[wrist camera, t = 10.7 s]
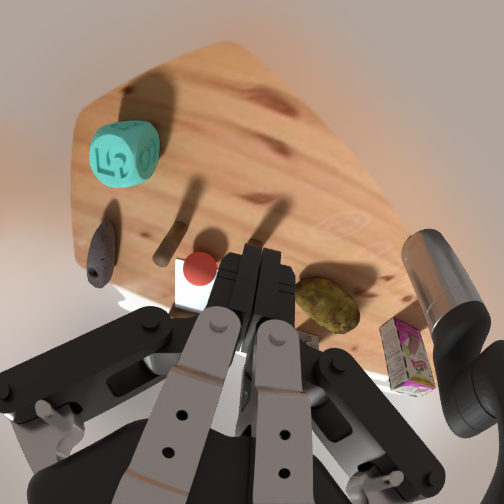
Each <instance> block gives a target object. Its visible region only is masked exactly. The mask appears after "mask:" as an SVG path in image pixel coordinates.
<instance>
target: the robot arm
mask: <svg viewBox="0 0 504 504" xmlns="http://www.w3.org/2000/svg"><path fill="white" fill-rule="evenodd" d="M261 253H262V254H261ZM401 258H402V262H403V264H404V266H405V269H406V271H407V273H408V276H409V278H410V281H411V283H412V285H413V288H414V290H415V293H416V295H417V298H418V300H419V303H420V306H421V308H422V311H423V314H424V317H425V319H426V322H427V325H428V328H429V331H430V334H431V337H432V340H433V343H434V348H433V362H434V367H435V371H436V376H437V382H438V388H439V394H440V400H441V405H442V410H443V413H444V416H445V419H446V422H447V424H448V426H449V427H450V429H451V430H452V432H453V433H454V434H455V435H457V436H459V437H461V438H470V437H473V436H476V435H478V434H480V433H481V432H483V431H485V430H486V429H488V428H490V427H491V426H493V425H494V424H496V423H498V431H499V456H498V462H497V467H496V470H495V473H494V476H493V478H492V481H491V484H490V486H489V488H488V490H487V492H486V494H485V496H484V498H483V500H482V501H481V504H504V340H498V341H495V342H494V343H492V344H491V345H490V346H489V347H487V348H486V349H485V350H484V351H483V352H482V353H481V354H480V352H481V349H482V346H483V344H484V342H485V340H486V338H487V335H488V333H489V330H490V327H491V318H490V315H489V313H488V311H487V309H486V307H485V305H484V303H483V301H482V300H481V297H480V295H479V293H478V292H477V290H476V288H475V286H474V285H473V283H472V281H471V279H470V278H469V275H468V274H467V272H466V270H465V269H464V267H463V265H462V264H461V262H460V261H459V259H458V257H457V256H456V254H455V253H454V251H453V250H452V249H451V247H450V245H449V244H448V243H447V241H446V240H445V239H444V237H443V236H442V234H441V233H440V232H438V231H437V230H434V229H424V230H421V231H419V232H417V233H415V234H414V235H412V236H411V237H410V238H409V239H408V240H407V242H406V243H405V244H404V247H403V249H402V253H401ZM280 262H281V252H280V251H276V250H272V249H268V248H263V251H262V247H259V246H255V245H251V244H247V243H245V246H244V250H243V254H242V255H240V254H235V253H231V252H229V253H228V254H227V255H226V256H225V257H223V258H222V260H221V263H220V266H219V269H218V272H217V275H216V278H215V281H214V284H213V287H212V290H211V293H210V296H209V299H208V302H207V305H206V307H205V308H204V310H203V311H202V312H201V313H199V314H198V315H196V316H193V317H189V318H171V317H170V316H169V314H168V313H167V312H166V311H165V310H163V309H161V308H159V307H155V306H146V307H142V308H139V309H137V310H135V311H133V312H131V313H129V314H127V315H124V316H122V317H120V318H118V319H116V320H114V321H112V322H109V323H107V324H105V325H103V326H101V327H99V328H96V329H94V330H92V331H90V332H88V333H86V334H84V335H81V336H79V337H77V338H75V339H73V340H71V341H69V342H66V343H64V344H62V345H60V346H58V347H55V348H53V349H51V350H49V351H47V352H45V353H43V354H40V355H38V356H36V357H34V358H32V359H29V360H28V361H25V362H23V363H21V364H18V365H16V366H14V367H12V368H10V369H8V370H5V371H3V372H1V373H0V413H1V414H2V415H4V416H5V417H7V418H8V419H9V420H10V422H11V424H12V426H13V429H14V432H15V434H16V436H17V439H18V441H19V444H20V446H21V448H22V451H23V453H24V455H25V457H26V459H27V461H28V463H29V465H30V467H31V469H32V471H33V473H34V476H33V477H32V478H31V480H30V482H29V485H28V489H27V500H28V504H412V503H413V502H414V501H418V500H422V499H426V498H430V497H433V496H435V495H437V494H438V493H439V492H440V491H441V489H442V488H443V486H444V483H445V470H444V468H443V466H442V465H441V463H440V462H439V461H438V460H437V459H436V457H435V456H434V455H433V453H432V452H431V451H430V450H429V449H428V448H427V446H426V445H425V444H424V442H423V441H422V440H421V439H420V438H419V436H418V435H417V434H416V433H415V431H414V430H413V429H412V428H411V427H410V425H409V424H408V423H407V422H406V421H405V419H404V418H403V417H402V416H401V414H400V413H399V412H398V411H397V410H396V408H395V407H394V406H393V405H392V404H391V403H390V401H389V400H388V399H387V398H386V396H385V395H384V394H383V393H382V392H381V390H380V389H379V388H378V387H377V386H376V384H375V383H374V382H373V381H372V380H371V378H370V377H369V376H368V375H367V374H366V372H365V371H364V370H363V369H362V368H361V366H360V365H359V364H358V363H357V362H356V361H355V359H354V358H353V357H352V356H351V355H350V354H349V353H348V352H346V351H345V350H342V349H339V348H330V349H327V350H325V351H324V352H321V351H319V350H317V349H315V348H313V347H311V346H309V345H307V344H306V343H304V342H303V341H302V340H301V339H300V338H299V336H298V333H297V331H296V330H295V274H294V272H293V270H292V268H291V267H290V266H286V265H282V264H280ZM242 341H243V343H242ZM241 344H242V348H241V352H244V353H247V356H246V362H245V365H244V367H243V371H242V381H241V394H240V405H239V415H238V420H237V424H236V430H235V437H229V436H226V435H224V434H221V433H219V432H217V431H215V430H213V429H211V428H210V427H211V423H212V420H213V417H214V414H215V410H216V407H217V404H218V400H219V397H220V394H221V391H222V387H223V384H224V381H225V378H226V375H227V371H228V368H229V367H230V366H231V364H232V361H233V358H234V355H235V351H239V350H240V347H241ZM165 378H166V380H165V382H164V384H163V387H162V389H161V391H160V394H159V396H158V398H157V401H156V403H155V405H154V408H153V410H152V412H151V415H150V417H149V418H147V419H141V420H137V421H134V422H132V423H129V424H127V425H125V426H123V427H121V428H120V429H118V430H116V431H114V432H113V433H111V434H109V435H107V436H106V437H104V438H103V439H100V440H99V441H97V442H95V443H93V444H91V445H90V446H88V447H86V448H84V449H82V450H80V451H78V452H76V453H74V454H73V455H70V456H69V454H70V451H71V450H72V448H73V447H74V446H75V445H76V444H78V443H79V442H80V441H81V440H82V438H83V436H84V432H85V427H84V422H85V421H88V420H90V419H92V418H94V417H95V416H98V415H99V414H101V413H103V412H105V411H107V410H109V409H111V408H113V407H115V406H117V405H118V404H120V403H122V402H124V401H126V400H128V399H130V398H132V397H134V396H135V395H137V394H139V393H141V392H143V391H144V390H146V389H148V388H150V387H152V386H153V385H155V384H157V383H159V382H160V381H162V380H164V379H165ZM312 430H313V432H314V433H315V434H316V436H317V437H318V438H319V439H320V441H321V442H322V443H323V445H324V446H325V447H326V448H327V450H328V451H329V452H330V454H331V455H332V456H333V457H334V459H335V460H336V461H337V463H338V464H339V465H340V466H341V468H342V469H343V470H344V471H345V473H346V474H347V475H348V476H349V478H350V479H349V481H348V484H347V487H346V493H347V494H348V496H349V498H350V499H351V501H352V503H351V501H350V500H349V499H348V498H347V496H346V495H345V494H344V492H343V491H342V490H341V488H340V487H339V486H338V484H337V483H336V482H335V480H334V479H333V477H332V476H331V475H330V473H329V472H328V471H327V469H326V468H325V466H324V465H323V464H322V463H321V461H319V459H318V458H317V457H315V456H314V455H313V454H312Z"/></svg>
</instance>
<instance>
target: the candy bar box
mask: <svg viewBox="0 0 504 504" xmlns="http://www.w3.org/2000/svg"><path fill="white" fill-rule="evenodd" d="M379 330H380V334H381V339H382V344H383V348H384V354H385V359H386V365H387V370H388V376H389V382H390V388H391V391H395V392H399V393H403V394H407V395H410V396H415V397H421V396H423V395H424V394H427V393H428V392H429V391H432V390H433V389H435V388H436V387H435V383H434V379H433V375H432V371H431V367H430V364H429V360H428V357H427V353H426V350H425V347H424V343H423V340H422V337H421V333H420V331H419V330H417V329H415V328H413V327H411V326H409V325H408V324H406V323H404V322H402V321H400V320H398V319H396V318H394V317H393V318H391V319H390V320H389V321H388V322H386V323H385V324H384V325H383V326H381V327H380V328H379Z"/></svg>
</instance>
